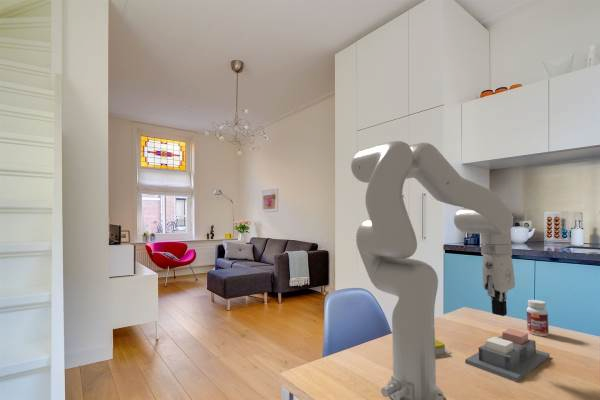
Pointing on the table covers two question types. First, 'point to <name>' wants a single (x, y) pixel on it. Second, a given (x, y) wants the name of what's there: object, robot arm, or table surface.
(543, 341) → the table surface
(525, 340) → the terracotta key
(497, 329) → the table surface
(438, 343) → the emergency button
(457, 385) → the table surface
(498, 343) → the cream key
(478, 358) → the key panel
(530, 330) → the pill bottle
